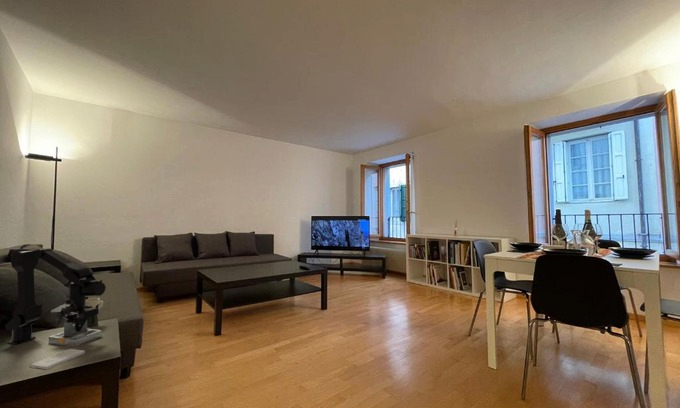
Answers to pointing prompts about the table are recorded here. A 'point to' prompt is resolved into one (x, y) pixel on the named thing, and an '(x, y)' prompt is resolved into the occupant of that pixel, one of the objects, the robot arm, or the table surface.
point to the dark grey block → (73, 328)
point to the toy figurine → (93, 304)
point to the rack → (75, 338)
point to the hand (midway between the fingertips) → (75, 331)
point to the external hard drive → (57, 359)
